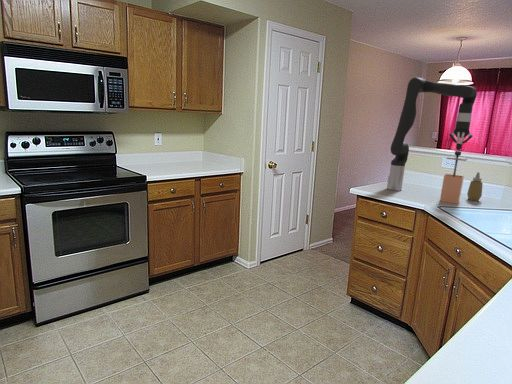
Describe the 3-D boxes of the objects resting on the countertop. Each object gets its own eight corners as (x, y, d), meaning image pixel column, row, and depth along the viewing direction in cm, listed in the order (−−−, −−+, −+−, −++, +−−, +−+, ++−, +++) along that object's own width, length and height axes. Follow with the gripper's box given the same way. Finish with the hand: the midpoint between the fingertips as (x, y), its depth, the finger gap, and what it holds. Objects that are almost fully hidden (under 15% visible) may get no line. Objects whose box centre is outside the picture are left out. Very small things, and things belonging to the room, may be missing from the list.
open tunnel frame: (439, 201, 228) (444, 175, 224) (442, 198, 236) (446, 173, 233) (457, 204, 223) (462, 178, 219) (459, 201, 231) (463, 176, 227)
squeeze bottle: (473, 201, 231) (478, 173, 227) (463, 198, 239) (468, 171, 235) (483, 201, 234) (489, 173, 230) (473, 198, 241) (478, 171, 237)
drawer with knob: (442, 183, 225) (447, 150, 221) (444, 180, 234) (449, 149, 230) (461, 185, 220) (467, 152, 216) (463, 183, 228) (468, 151, 224)
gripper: (450, 120, 219) (445, 149, 223) (475, 121, 212) (470, 151, 216) (451, 120, 225) (447, 148, 229) (476, 121, 218) (471, 150, 222)
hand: (458, 149), depth 222 cm, fingers closed
